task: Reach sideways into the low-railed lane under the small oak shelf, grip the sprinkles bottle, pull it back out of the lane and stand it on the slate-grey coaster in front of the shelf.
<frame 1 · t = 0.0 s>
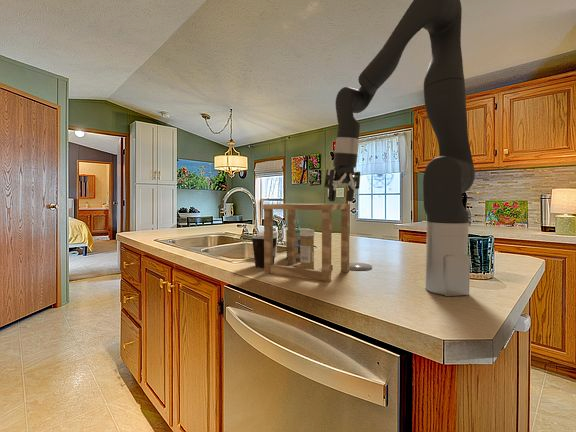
hand: (340, 201, 107), 22 cm above the worktop, tool pointing down, fingers open, 8 cm apart
sprinkles bottle: (307, 272, 101), resting in oak shelf
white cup: (268, 256, 129), on the worktop
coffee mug: (261, 267, 109), on the worktop
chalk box: (299, 258, 125), on the worktop
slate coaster: (356, 267, 108), on the worktop
oak shelf: (307, 271, 101), on the worktop
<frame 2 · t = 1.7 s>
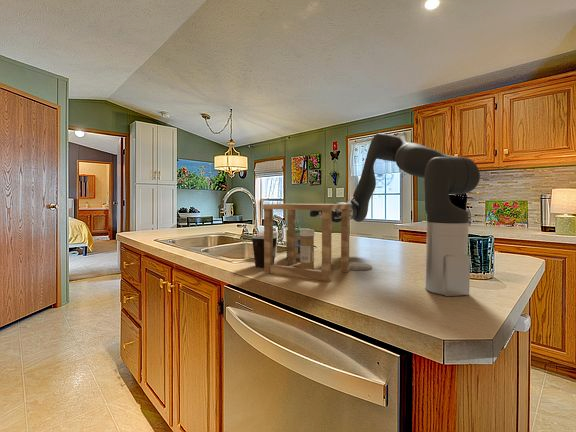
hand: (322, 214, 110), 18 cm above the worktop, tool horizontal, fingers open, 8 cm apart
nothing on the worktop moved.
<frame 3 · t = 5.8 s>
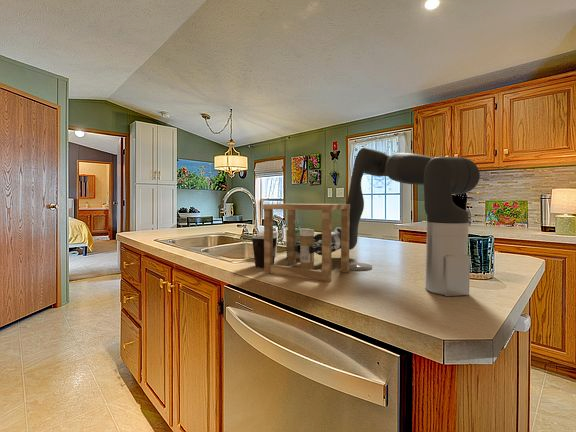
hand: (303, 249, 98), 8 cm above the worktop, tool horizontal, fingers closed on sprinkles bottle, 4 cm apart
sprinkles bottle: (307, 272, 101), resting in oak shelf, touching gripper
everything else where it was.
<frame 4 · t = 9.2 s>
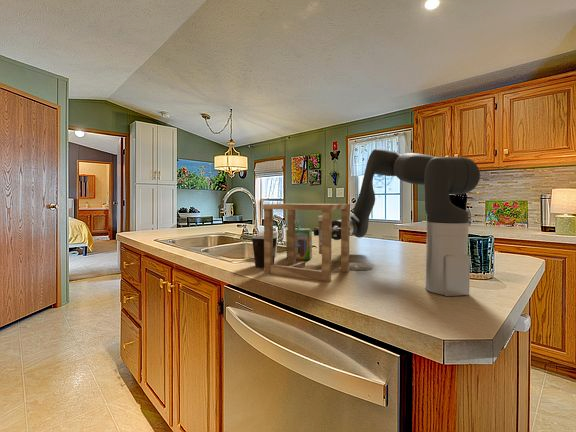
hand: (321, 233, 109), 11 cm above the worktop, tool horizontal, fingers closed on sprinkles bottle, 4 cm apart
sprinkles bottle: (325, 254, 112), point 4 cm above the worktop, touching gripper
everything else where it was.
when the fingers open (9 cm above the worktop, at t = 12.6 s): sprinkles bottle stays where it is, resting on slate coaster.
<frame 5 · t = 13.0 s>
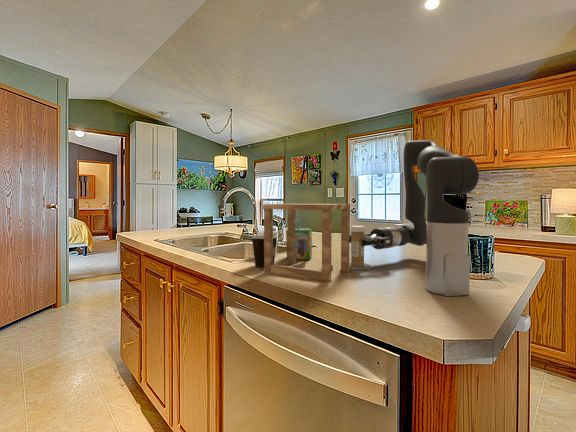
hand: (352, 241, 106), 9 cm above the worktop, tool horizontal, fingers open, 8 cm apart
sprinkles bottle: (357, 266, 107), resting on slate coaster
everything else where it was.
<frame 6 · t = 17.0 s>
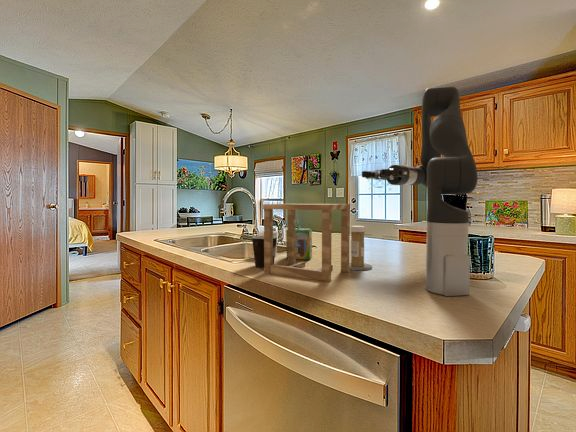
hand: (371, 173, 110), 32 cm above the worktop, tool horizontal, fingers open, 8 cm apart
nothing on the worktop moved.
at the end: sprinkles bottle 0.2 cm from the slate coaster (horizontally); sprinkles bottle tilted 0°; the gripper is holding nothing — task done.
